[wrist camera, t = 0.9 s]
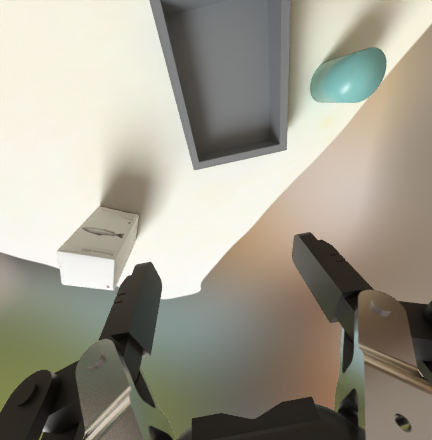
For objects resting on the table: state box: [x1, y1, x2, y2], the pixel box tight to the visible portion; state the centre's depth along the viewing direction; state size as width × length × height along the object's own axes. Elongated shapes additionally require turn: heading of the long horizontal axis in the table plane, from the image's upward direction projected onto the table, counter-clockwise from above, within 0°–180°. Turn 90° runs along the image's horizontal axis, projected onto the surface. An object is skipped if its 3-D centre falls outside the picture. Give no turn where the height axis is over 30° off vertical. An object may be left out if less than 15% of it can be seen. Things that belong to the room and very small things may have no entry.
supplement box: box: [57, 206, 139, 290], centre depth 31 cm, size 7×7×13 cm
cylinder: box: [310, 48, 386, 103], centre depth 24 cm, size 5×5×7 cm
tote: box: [150, 0, 291, 170], centre depth 24 cm, size 18×14×5 cm
